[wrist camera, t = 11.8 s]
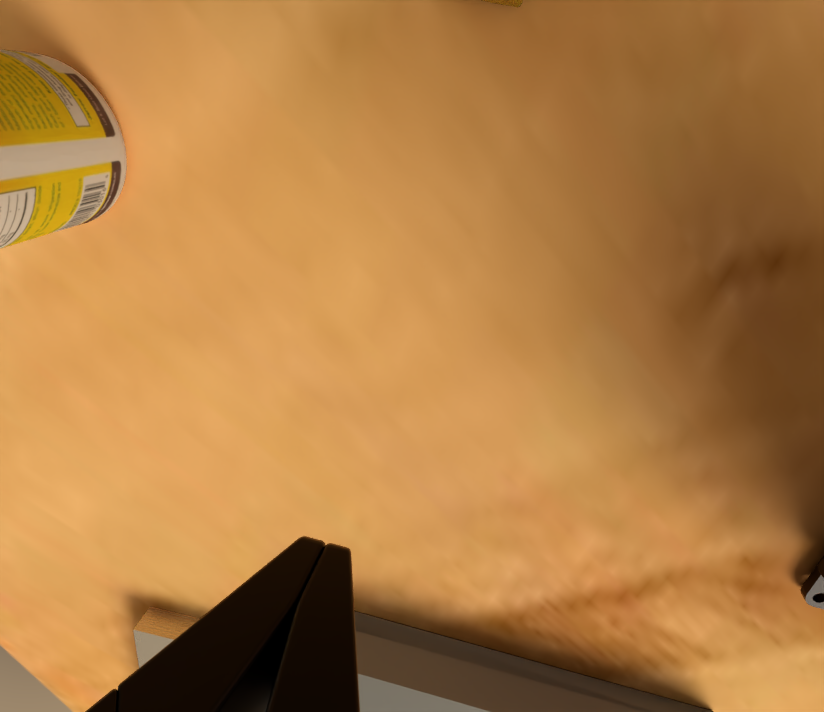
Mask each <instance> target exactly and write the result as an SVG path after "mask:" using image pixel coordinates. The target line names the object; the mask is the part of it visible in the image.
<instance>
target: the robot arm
mask: <svg viewBox="0 0 824 712" xmlns="http://www.w3.org/2000/svg"><path fill="white" fill-rule="evenodd" d="M818 593H819V594H818ZM801 594H802V595H803V597H804V599H805V601H806V602H807V603H808V604H809V605H811V606H813V607H817V608H821V609H824V556H823V558H822V559H821V561H820V562H819V563H818V565H817V566H816V567H815V569H814V570H813V572H812V573H811V574H810V576H809V577H808V579H807V580H806V581H805V583H804V584H803V586H802V588H801ZM86 712H360V703H359V685H358V668H357V650H356V632H355V615H354V597H353V580H352V562H351V551H350V549H349V548H347V547H343V546H339V545H336V544H332V543H328V544H327V545H325V543H324V542H323V541H321V540H317V539H314V538H310V537H306V536H303V537H300V538H299V539H297V540H296V541H295V542H294V543H292V544H291V545H290V546H289V547H288V548H286V549H285V550H284V551H283V552H281V553H280V554H279V555H278V556H277V557H275V558H274V559H273V560H272V561H270V562H269V563H268V564H267V565H265V566H264V567H263V568H262V569H261V570H259V571H258V572H257V573H256V574H254V575H253V576H252V577H251V578H249V579H248V580H247V581H246V582H245V583H243V584H242V585H241V586H240V587H238V588H237V589H236V590H235V591H233V592H232V593H231V594H230V595H229V596H227V597H226V598H225V599H224V600H222V601H221V602H220V603H219V604H218V605H216V606H215V607H214V608H213V609H211V610H210V611H209V612H208V613H206V614H205V615H204V616H203V617H202V618H200V619H199V620H198V621H197V622H195V623H194V624H193V625H192V626H190V627H189V628H188V629H187V630H186V631H184V632H183V633H182V634H181V635H179V636H178V637H177V638H176V639H174V640H173V641H172V642H171V643H170V644H168V645H167V646H166V647H165V648H163V649H162V650H161V651H160V652H158V653H157V654H156V655H155V656H154V657H152V658H151V659H150V660H149V661H147V662H146V663H145V664H144V665H143V666H141V667H140V668H139V669H138V670H136V671H135V672H134V673H133V674H131V675H130V676H129V677H128V678H127V679H125V680H124V681H123V682H122V683H120V684H119V686H118V690H117V689H113V690H111V691H110V692H109V693H108V694H106V695H105V696H104V697H103V698H102V699H100V700H99V701H98V702H97V703H95V704H94V705H93V706H92V707H91V708H89V709H88V710H87V711H86Z"/></svg>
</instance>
